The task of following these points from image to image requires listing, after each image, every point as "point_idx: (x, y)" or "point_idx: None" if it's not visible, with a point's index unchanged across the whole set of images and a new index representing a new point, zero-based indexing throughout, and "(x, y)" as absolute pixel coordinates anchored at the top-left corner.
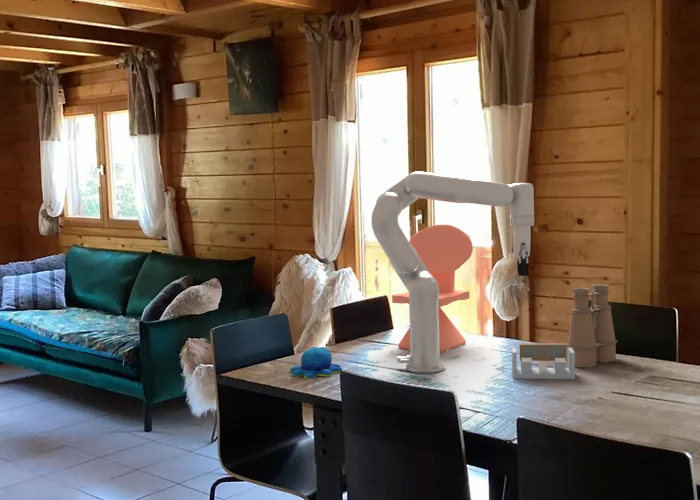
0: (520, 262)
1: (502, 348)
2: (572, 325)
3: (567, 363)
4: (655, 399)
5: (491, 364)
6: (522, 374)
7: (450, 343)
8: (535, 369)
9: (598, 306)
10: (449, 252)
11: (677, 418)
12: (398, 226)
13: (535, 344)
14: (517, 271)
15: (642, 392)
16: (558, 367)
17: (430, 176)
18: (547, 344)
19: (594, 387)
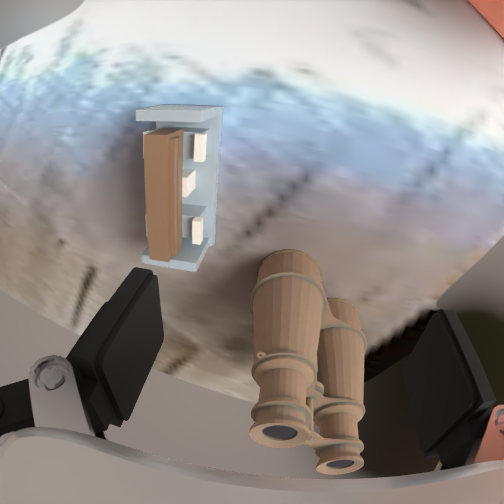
0: (42, 370)
1: (485, 144)
2: (272, 321)
3: (291, 250)
4: (75, 305)
5: (315, 64)
6: (157, 127)
7: (495, 15)
8: (197, 162)
9: (320, 413)
10: None
11: (24, 294)
12: None
13: (148, 181)
14: (442, 310)
15: (101, 304)
16: None
17: None
18: (149, 213)
19: (112, 251)
